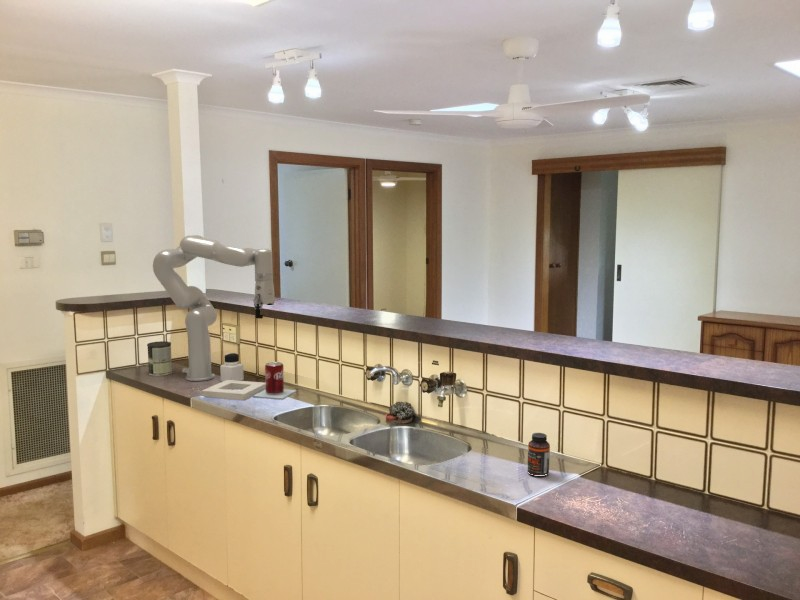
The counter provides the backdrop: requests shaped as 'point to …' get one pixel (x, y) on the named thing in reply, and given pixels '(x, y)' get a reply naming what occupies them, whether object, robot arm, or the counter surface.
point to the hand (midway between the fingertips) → (264, 316)
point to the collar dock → (244, 393)
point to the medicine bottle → (232, 368)
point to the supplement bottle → (538, 454)
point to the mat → (279, 396)
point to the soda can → (274, 378)
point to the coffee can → (159, 358)
